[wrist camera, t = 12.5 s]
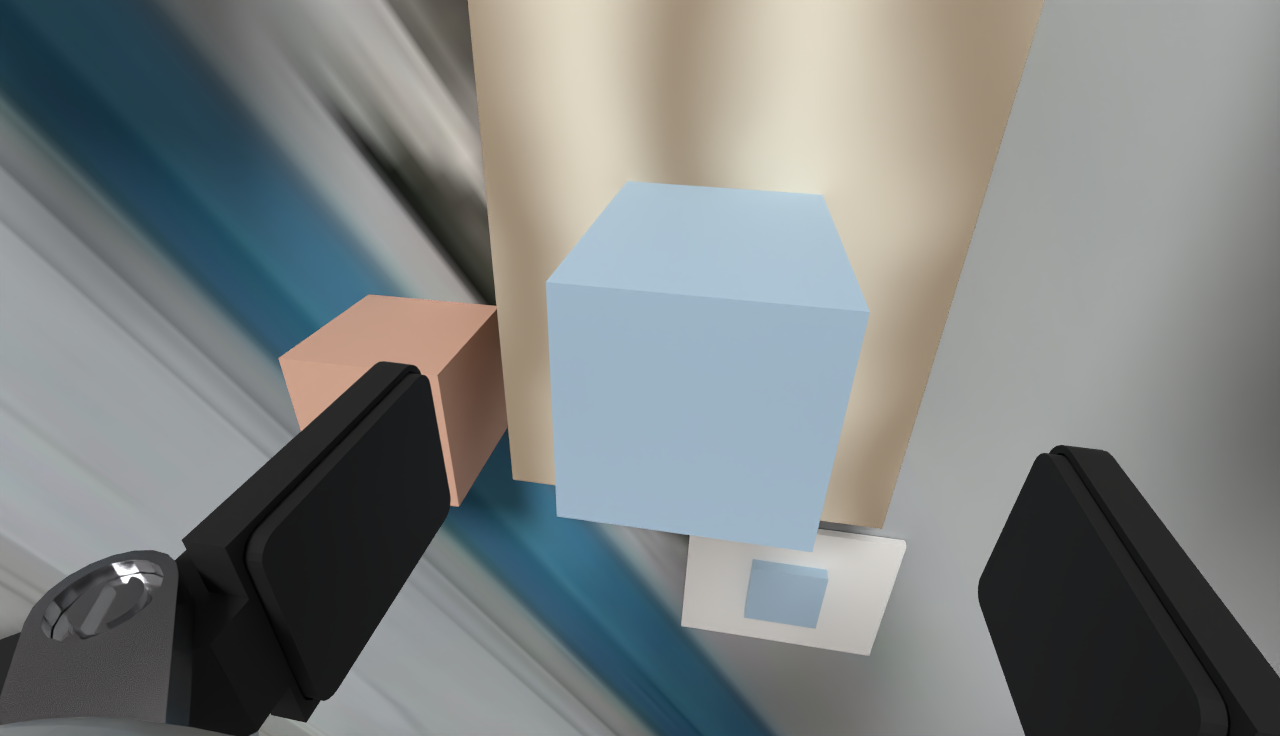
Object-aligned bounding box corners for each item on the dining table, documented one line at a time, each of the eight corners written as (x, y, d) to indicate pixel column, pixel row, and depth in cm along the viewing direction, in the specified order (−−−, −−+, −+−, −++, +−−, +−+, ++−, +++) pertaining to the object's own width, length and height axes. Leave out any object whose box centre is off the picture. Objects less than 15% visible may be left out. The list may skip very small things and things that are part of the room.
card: (904, 540, 29) (909, 556, 28) (867, 649, 33) (871, 666, 32) (692, 511, 30) (690, 526, 29) (681, 619, 34) (679, 635, 33)
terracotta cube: (499, 305, 26) (437, 375, 21) (511, 420, 29) (459, 506, 24) (369, 293, 27) (278, 358, 22) (393, 407, 30) (318, 487, 25)
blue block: (822, 194, 17) (870, 311, 10) (791, 367, 20) (812, 552, 13) (627, 181, 18) (545, 281, 11) (623, 349, 20) (557, 516, 13)
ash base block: (992, -55, 18) (1069, -81, 13) (860, 446, 26) (882, 529, 22) (524, -63, 19) (459, -88, 15) (549, 410, 28) (513, 479, 24)
